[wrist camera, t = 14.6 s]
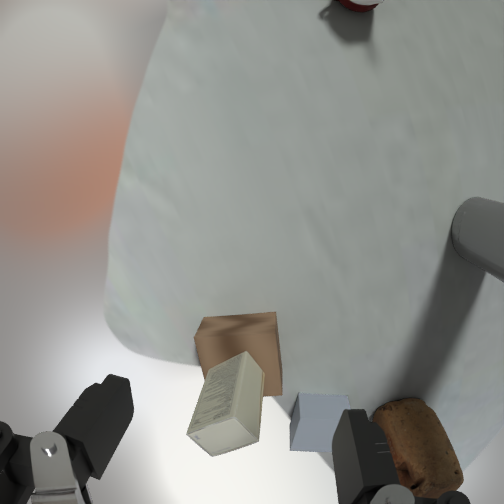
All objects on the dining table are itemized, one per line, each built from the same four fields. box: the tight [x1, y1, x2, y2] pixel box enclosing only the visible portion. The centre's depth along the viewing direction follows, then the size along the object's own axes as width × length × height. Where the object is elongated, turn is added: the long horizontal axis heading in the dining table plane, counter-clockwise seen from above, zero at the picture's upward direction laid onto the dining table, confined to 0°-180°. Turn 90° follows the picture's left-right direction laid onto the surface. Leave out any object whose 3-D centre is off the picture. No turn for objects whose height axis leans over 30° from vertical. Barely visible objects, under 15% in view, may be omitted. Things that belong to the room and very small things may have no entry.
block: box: [373, 398, 464, 499], centre depth 36 cm, size 11×8×20 cm
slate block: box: [290, 393, 351, 452], centre depth 44 cm, size 8×8×6 cm
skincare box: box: [187, 351, 265, 456], centre depth 32 cm, size 6×4×12 cm
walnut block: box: [194, 312, 282, 397], centre depth 41 cm, size 10×10×6 cm
